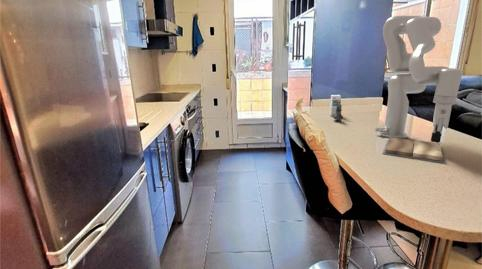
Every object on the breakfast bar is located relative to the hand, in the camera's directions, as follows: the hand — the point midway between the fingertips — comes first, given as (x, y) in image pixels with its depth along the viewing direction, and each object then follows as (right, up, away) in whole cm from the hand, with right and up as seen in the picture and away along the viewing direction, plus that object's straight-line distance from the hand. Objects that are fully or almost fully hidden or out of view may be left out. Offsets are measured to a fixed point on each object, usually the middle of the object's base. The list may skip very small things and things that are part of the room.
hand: (435, 141), depth 120 cm
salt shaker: (-21, +11, +59) cm, 64 cm away
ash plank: (-2, -4, +2) cm, 5 cm away
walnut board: (-11, -4, +7) cm, 14 cm away
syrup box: (-19, +16, +74) cm, 78 cm away
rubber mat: (-7, -4, +5) cm, 9 cm away
